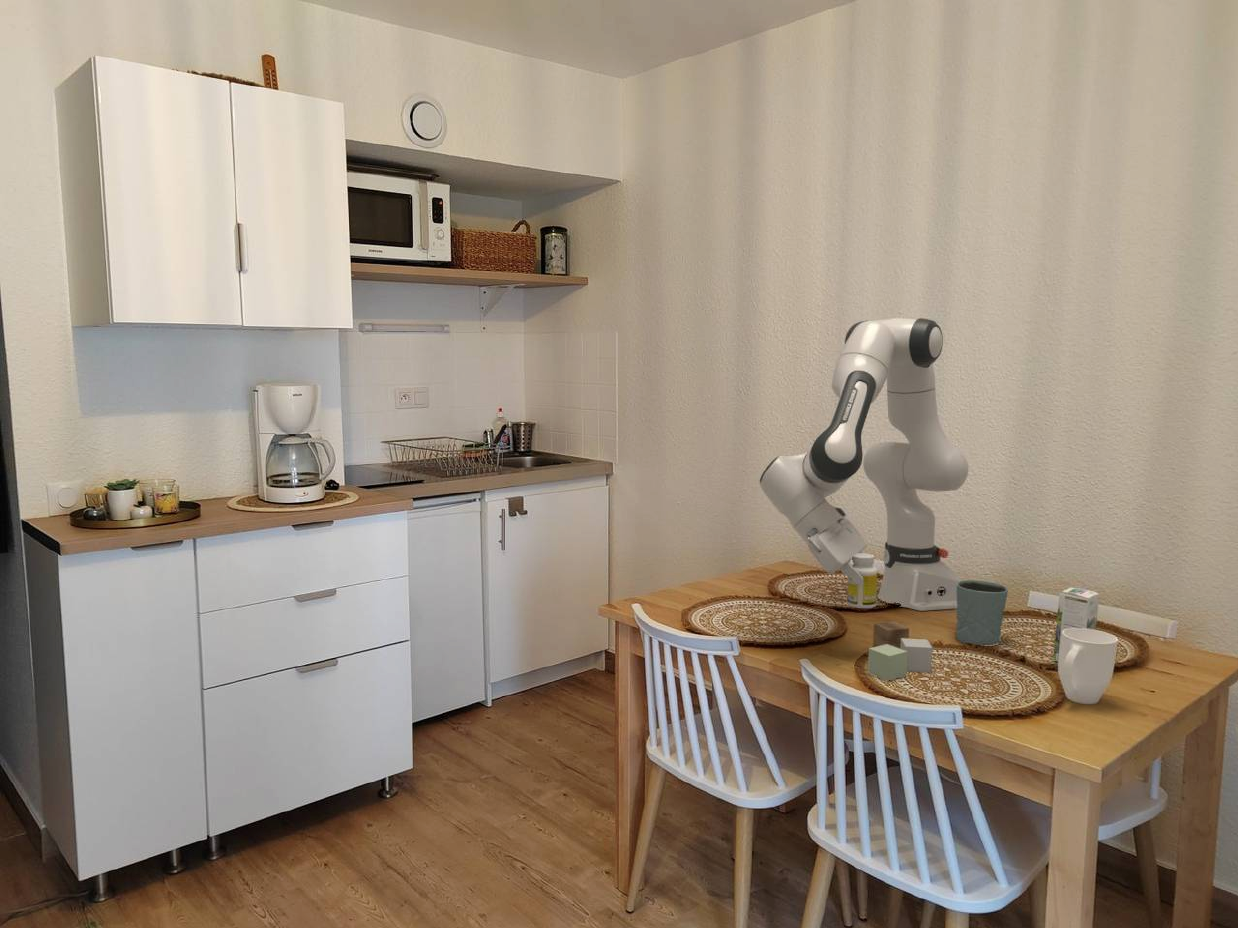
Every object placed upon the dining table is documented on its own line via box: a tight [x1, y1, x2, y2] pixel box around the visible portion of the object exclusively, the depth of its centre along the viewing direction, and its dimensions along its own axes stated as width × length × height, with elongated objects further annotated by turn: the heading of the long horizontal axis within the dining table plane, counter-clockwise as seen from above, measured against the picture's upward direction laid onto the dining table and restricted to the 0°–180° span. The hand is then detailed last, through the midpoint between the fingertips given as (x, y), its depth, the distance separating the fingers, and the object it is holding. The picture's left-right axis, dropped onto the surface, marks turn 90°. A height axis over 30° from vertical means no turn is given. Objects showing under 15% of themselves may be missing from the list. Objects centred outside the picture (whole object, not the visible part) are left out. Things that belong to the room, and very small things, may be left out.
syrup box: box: [1052, 587, 1100, 661], centre depth 180 cm, size 6×6×14 cm
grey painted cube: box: [900, 638, 933, 673], centre depth 177 cm, size 5×5×5 cm
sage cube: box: [867, 644, 908, 681], centre depth 172 cm, size 5×5×5 cm
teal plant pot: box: [955, 579, 1009, 645], centre depth 193 cm, size 10×10×12 cm
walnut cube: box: [872, 620, 910, 649], centre depth 188 cm, size 5×5×5 cm
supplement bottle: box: [847, 552, 878, 609], centre depth 182 cm, size 6×6×10 cm
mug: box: [1057, 628, 1119, 705], centre depth 160 cm, size 12×9×12 cm
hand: (866, 577), depth 181 cm, fingers closed on supplement bottle, 6 cm apart
